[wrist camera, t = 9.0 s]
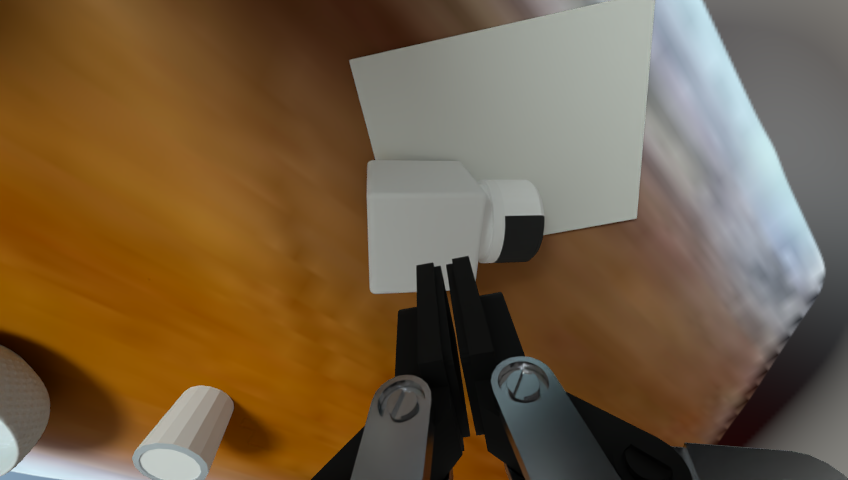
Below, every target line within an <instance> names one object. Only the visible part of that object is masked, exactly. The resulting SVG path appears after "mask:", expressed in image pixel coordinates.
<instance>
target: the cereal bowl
mask: <svg viewBox="0 0 848 480" xmlns="http://www.w3.org/2000/svg"><path fill="white" fill-rule="evenodd" d="M49 414H50V399H49V394H48V392H47V389H46V387H45V386H44V383H43V382H42V381H41V378H40V377H39V376H38V375H37V374H36V372H35V371H34V370H33V369H32V368H31V367H30V366H29V365H28V364H27V363H26V362H25V361H24V359H22V358H21V357H20V356H19V355H18V354H16V353H15V352H13V351H12V350H10V349H8V348H6V347H4V346H2V345H0V476H2V475H4V474H6V473H8V472H9V471H11V470H12V469H13V468H14V467H16V466H17V464H18V463H19V462H21V461H22V460H23V458H24V457H25V456H26V455H27V454H28V453H29V452H30V451H31V449H32V448H33V447H34V446H35V445H36V443H37V441H38V440H39V439H40V438H41V435H42V433H43V432H44V431H45V427H46V426H47V424H48V419H49Z"/></svg>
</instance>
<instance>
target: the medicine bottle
mask: <svg viewBox="0 0 848 480" xmlns="http://www.w3.org/2000/svg"><path fill="white" fill-rule="evenodd" d="M367 222H368V252H369V282H370V291H371V292H372V293H374V294H384V293H406V292H417V280H416V266H417V265H421V264H427V263H432V262H433V263H434V267H435V266H441V270H442V274H443V279H444V284H445V289H446V291H450V288H449V282H448V275H447V269H446V264H452V259H454V258H459V257H465V256H469V259H470V263H471V267H472V270H473V274H474V278H475V282H476V274H477V267H478V261H479V262H480V263H505V262H526V261H529V260H530V259H531V258H532V257H533V256H534V255H535V254H536V253H537V252H538V250H539V248H540V245H541V242H542V238H543V233H544V224H545V217H544V209H543V203H542V199H541V196H540V194H539V191H538V190H537V188H536V187H535V186H534V185H533V184H532V183H531V182H530V181H528V180H479V181H478V182H477V181H476V180H475V179H474V177H473V176H472V175H471V174H470V172H469V171H468V170H467V169H466V168H465V166H464V165H463V164H462V163H461V161H411V160H371V161H369V162H368V164H367Z"/></svg>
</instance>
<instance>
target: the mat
mask: <svg viewBox="0 0 848 480" xmlns="http://www.w3.org/2000/svg"><path fill="white" fill-rule="evenodd" d="M654 7H655V0H611V1H607V2H602V3H598V4H594V5H589V6H585V7H580V8H576V9H572V10H567V11H563V12H558V13H554V14H550V15H545V16H541V17H536V18H532V19H528V20H523V21H519V22H514V23H510V24H505V25H501V26H497V27H492V28H488V29H483V30H479V31H475V32H470V33H466V34H461V35H457V36H453V37H448V38H444V39H439V40H435V41H431V42H426V43H422V44H417V45H413V46H409V47H404V48H400V49H395V50H391V51H386V52H382V53H378V54H373V55H369V56H364V57H360V58H356V59H351V60H349V62H350V66H351V70H352V74H353V77H354V81H355V85H356V89H357V92H358V96H359V100H360V104H361V107H362V111H363V115H364V119H365V123H366V126H367V130H368V134H369V138H370V141H371V145H372V149H373V153H374V157H375V160H411V161H461V163H462V164H463V165H464V166H465V168H466V169H467V170H468V171H469V172H470V174H471V175H472V176H473V177H474V179H475V180H476V181H477V182H478V181H479V180H528V181H530V182H531V183H532V184H533V185H534V186H535V187H536V188H537V190H538V191H539V194H540V196H541V199H542V203H543V209H544V217H545V224H544V233H543V235H547V234H553V233H559V232H564V231H570V230H575V229H581V228H586V227H592V226H598V225H603V224H609V223H614V222H620V221H625V220H631V219H636V218H637V210H638V198H639V186H640V174H641V162H642V150H643V138H644V126H645V114H646V102H647V91H648V79H649V67H650V55H651V43H652V31H653V19H654Z"/></svg>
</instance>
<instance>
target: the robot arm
mask: <svg viewBox="0 0 848 480" xmlns="http://www.w3.org/2000/svg"><path fill="white" fill-rule="evenodd" d="M446 269H447V275H448V282H449V288H450V295H451V301H452V308H453V314H454V320H455V327H456V333H457V340H458V346H459V352H460V358H461V363H462V368H463V373H464V378H465V382H466V387H467V392H468V397H469V402H470V406H471V411H472V416H473V421H474V425H475V430H476V435H482V434H485V439H486V444H487V449H488V451H489V452H490V453H492V454H493V455H494V456H496V457H497V458H499V459H500V460H501V461H503V462H504V466H505V470H506V473H507V475H508V478H509V480H848V478H847V477H846V476H845V475H843V474H842V473H841V472H839V471H838V470H836V469H835V468H833V467H832V466H830V465H829V464H828V463H826V462H824V461H821V460H819V459H817V458H815V457H812V456H810V455H807V454H803V453H798V452H793V451H784V450H771V449H758V448H745V447H733V446H721V445H708V444H696V443H684V446H683V447H672V446H670V445H668V444H667V443H665V442H664V441H662V440H660V439H659V438H657V437H655V436H653V435H651V434H649V433H647V432H645V431H643V430H641V429H639V428H637V427H635V426H633V425H631V424H629V423H627V422H625V421H623V420H621V419H619V418H617V417H615V416H613V415H611V414H609V413H607V412H605V411H603V410H601V409H599V408H597V407H595V406H593V405H591V404H589V403H587V402H585V401H583V400H581V399H579V398H577V397H575V396H573V395H571V394H569V393H567V392H565V391H564V389H563V387H562V386H561V384H560V383H559V381H558V380H557V378H556V376H555V375H554V373H553V372H552V371H551V370H550V368H549V367H548V366H547V365H546V364H544V363H542V362H541V361H539V360H537V359H534V358H531V357H525V355H524V352H523V349H522V346H521V344H520V341H519V338H518V335H517V333H516V330H515V327H514V324H513V322H512V319H511V316H510V313H509V311H508V308H507V305H506V302H505V300H504V297H503V294H502V293H501V292H498V293H493V294H487V295H481V296H479V293H478V289H477V285H476V282H475V278H474V274H473V270H472V267H471V263H470V259H469V256H465V257H459V258H454V259H452V264H446ZM416 280H417V307H413V308H408V309H402V310H399V311H398V325H397V345H396V365H395V377H394V378H392V379H390V380H388V381H387V382H385V383H384V384H383V385H381V387H380V388H379V389H378V390H377V391H376V393H375V395H374V397H373V399H372V402H371V406H370V410H369V413H368V417H367V421H366V424H365V426H364V427H363V428H362V429H361V430H360V431H359V432H358V433H357V434H356V435H355V436H354V437H353V438H352V439H351V440H350V441H349V442H348V443H347V444H346V445H345V446H344V447H343V448H342V449H341V450H340V451H339V452H338V453H337V454H336V455H335V456H334V457H333V458H332V459H331V460H330V461H329V462H328V463H327V464H326V465H325V466H324V467H323V468H322V469H321V470H320V471H319V472H318V473H317V474H316V475H315V476H314V477H313V478H312V479H311V480H453V466H454V465H455V464H456V462H457V461H458V460H459V458H460V457H461V456H462V451H464V443H463V437H469V436H470V431H469V424H468V418H467V411H466V404H465V397H464V391H463V384H462V377H461V371H460V364H459V357H458V351H457V344H456V337H455V332H454V327H453V322H452V317H451V312H450V308H449V303H448V298H447V293H446V289H445V284H444V279H443V274H442V270H441V266H435V267H434V263H433V262H432V263H427V264H421V265H417V266H416Z"/></svg>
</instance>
